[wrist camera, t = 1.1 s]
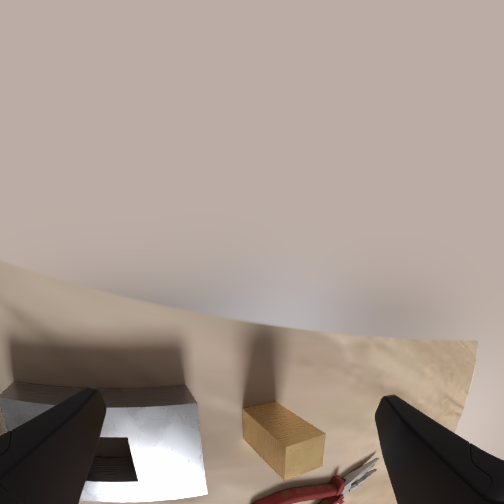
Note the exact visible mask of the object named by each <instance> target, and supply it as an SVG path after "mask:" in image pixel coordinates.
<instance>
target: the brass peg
mask: <svg viewBox="0 0 504 504" xmlns="http://www.w3.org/2000/svg"><path fill="white" fill-rule="evenodd" d="M242 410H243V438H244V440H245V441H246V442H247V443H248V444H249V445H250V446H251V447H252V448H253V449H254V450H255V451H256V452H257V454H258V455H259V456H260V457H261V458H262V459H263V460H264V461H265V462H266V463H267V464H268V465H269V466H270V467H271V468H272V469H273V470H274V471H275V472H276V473H277V474H278V475H279V476H280V477H281V478H282V479H283V480H287V479H290V478H293V477H296V476H298V475H301V474H304V473H306V472H309V471H311V470H314V469H316V468H319V467H321V466H322V462H323V453H324V444H325V435H326V433H324V432H322V431H321V430H319V429H318V428H316V427H314V426H313V425H311V424H309V423H308V422H306V421H305V420H303V419H302V418H300V417H298V416H297V415H295V414H294V413H292V412H291V411H289V410H288V409H286V408H285V407H283V406H282V405H280V404H279V403H277V402H272V403H267V404H263V405H258V406H253V407H248V408H242Z"/></svg>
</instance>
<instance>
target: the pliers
mask: <svg viewBox="0 0 504 504" xmlns="http://www.w3.org/2000/svg"><path fill="white" fill-rule="evenodd" d="M378 459H379V458H375V459H374V460H372V461H370V462H369V463H367V464H365V465H363V466H361V467H360V468H358V469H356V470H354V471H352V472H351V473H349V474H348V475H346V476H345V477H343V479H344V480H343V479H341V478H340V477H338V476H333V478H332V480H331V482H330V483H328V484H321V485H314V486H306V487H298V488H291V489H286V490H282V491H279V492H277V493H274V494H272V495H270V496H268V497H265V498H263V499H261V500H258V501H256V502H254V503H253V504H292V503H296V502H301V501H308V500H314V499H320V498H324V499H323V500H322V501H320V502H319V503H318V504H337V503H339V504H342V503H343V502H344V501H343V500H342V499H343V498H344V497H343V495H344V494H346V493H347V492H348V491H349V492H351V491H352V490H354V489H355V488H357V487H358V486H359V485H360V484H361V483H363V482H364V481H365V480H366V479H367V478H368V477H369V476H371V475H372V474H373V473H374V472H375V471H376V470H377V469H373V470H371V471H369V472H367V471H368V470H369V469H370V468H371V467H372V466H373V465H374V463H375V462H376V461H377V460H378Z"/></svg>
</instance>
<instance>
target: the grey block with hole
mask: <svg viewBox="0 0 504 504" xmlns="http://www.w3.org/2000/svg"><path fill="white" fill-rule="evenodd" d="M82 389H84V388H79V387H62V386H49V385H39V384H30V383H22V382H15V381H14V382H13V383H12V384H11V385H10V386H9V387H8V388H7V389H6V390H5V391H4V392H3V393H2V394H1V395H0V406H1V410H2V413H3V417H4V420H5V423H6V426H7V429H8V432H9V431H12V430H13V429H14V428H16V427H18V426H20V425H22V424H23V423H25V422H27V421H29V420H30V419H32V418H34V417H36V416H38V415H39V414H41V413H43V412H45V411H46V410H48V409H50V408H52V407H53V406H55V405H57V404H59V403H60V402H62V401H64V400H65V399H67V398H69V397H71V396H72V395H74V394H76V393H77V392H79V391H81V390H82ZM98 389H99V390H100V391H101V394H102V396H103V399H104V402H105V404H106V409H107V410H106V415H105V419H104V423H103V427H102V431H101V435H100V437H128V441H129V446H130V450H131V454H132V457H94V459H93V461H92V464H91V467H90V470H89V473H88V476H87V479H86V482H85V485H84V488H83V491H82V494H81V497H80V500H84V501H100V502H142V501H158V500H170V499H179V498H187V497H194V496H200V495H206V494H208V493H207V486H206V479H205V472H204V464H203V456H202V447H201V438H200V428H199V418H198V406H197V402H196V400H195V399H194V397H193V396H192V394H191V393H190V391H189V389H188V388H187V386H186V385H182V386H169V387H150V388H98Z"/></svg>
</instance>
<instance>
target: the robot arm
mask: <svg viewBox="0 0 504 504" xmlns="http://www.w3.org/2000/svg"><path fill="white" fill-rule="evenodd" d="M106 410H107V409H106V404H105V402H104V399H103V396H102V394H101V391H100V390H99V389H98V388H94V387H86V388H84V389H82V390H81V391H79V392H77V393H76V394H74V395H72V396H71V397H69V398H67V399H65V400H64V401H62V402H60V403H59V404H57V405H55V406H53V407H52V408H50V409H48V410H46V411H45V412H43V413H41V414H39V415H38V416H36V417H34V418H32V419H30V420H29V421H27V422H25V423H23V424H22V425H20V426H18V427H16V428H14V429H13V430H12V431H9V432H7V433H5V434H3V435H1V436H0V504H79V500H80V497H81V494H82V491H83V488H84V485H85V482H86V479H87V476H88V473H89V470H90V467H91V464H92V461H93V459H94V456H95V453H96V450H97V447H98V443H99V439H100V435H101V431H102V427H103V423H104V419H105V415H106ZM375 421H376V426H377V431H378V435H379V440H380V445H381V450H382V455H383V458H384V462H385V465H386V468H387V471H388V474H389V477H390V480H391V484H392V487H393V490H394V494H395V497H396V500H397V504H504V460H501V459H499V458H497V457H495V456H493V455H491V454H489V453H487V452H485V451H483V450H481V449H480V448H478V447H476V446H475V445H473V444H470V443H469V442H468V441H466V440H465V439H463V438H461V437H460V436H458V435H456V434H455V433H453V432H452V431H450V430H448V429H447V428H445V427H444V426H442V425H441V424H439V423H437V422H436V421H434V420H433V419H431V418H430V417H428V416H427V415H425V414H423V413H422V412H420V411H419V410H417V409H416V408H414V407H413V406H411V405H410V404H408V403H407V402H405V401H404V400H402V399H401V398H399V397H398V396H396V395H388V396H384V397H382V399H381V401H380V403H379V406H378V408H377V410H376V413H375Z"/></svg>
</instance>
